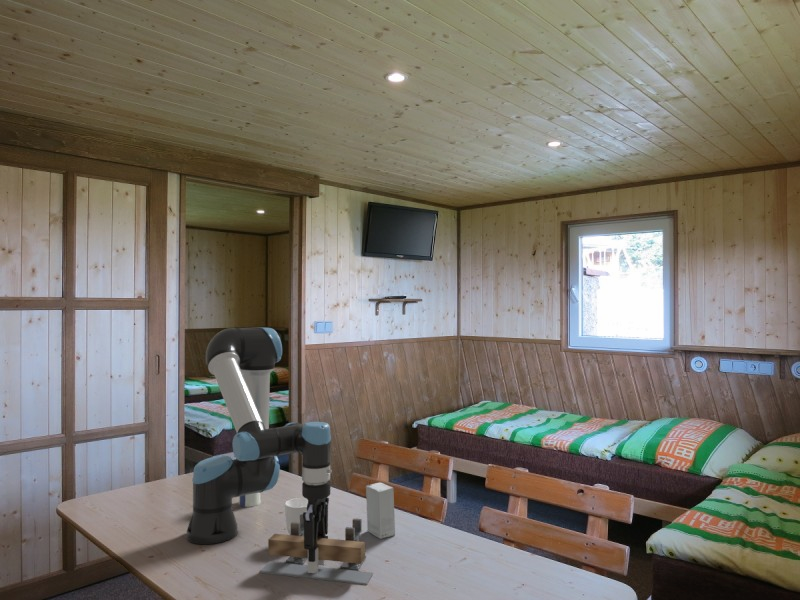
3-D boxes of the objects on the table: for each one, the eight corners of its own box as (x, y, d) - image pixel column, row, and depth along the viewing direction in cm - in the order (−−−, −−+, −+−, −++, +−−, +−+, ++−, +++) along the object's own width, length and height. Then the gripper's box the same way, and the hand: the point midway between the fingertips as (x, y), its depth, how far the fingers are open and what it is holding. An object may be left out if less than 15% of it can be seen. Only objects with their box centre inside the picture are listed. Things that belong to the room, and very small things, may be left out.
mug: (303, 549, 167) (302, 508, 168) (279, 544, 172) (279, 504, 172) (326, 535, 178) (325, 496, 178) (304, 530, 182) (303, 493, 182)
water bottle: (267, 501, 208) (267, 433, 209) (249, 508, 201) (249, 438, 201) (251, 497, 213) (251, 430, 213) (233, 504, 205) (233, 435, 206)
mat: (259, 572, 153) (259, 571, 153) (269, 562, 159) (269, 561, 159) (366, 584, 146) (366, 583, 146) (373, 574, 152) (373, 572, 152)
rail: (268, 554, 153) (268, 539, 154) (274, 548, 157) (274, 533, 157) (360, 563, 148) (360, 548, 148) (365, 557, 152) (365, 542, 152)
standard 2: (340, 568, 155) (340, 528, 155) (349, 556, 163) (349, 517, 163) (358, 570, 154) (358, 530, 154) (366, 557, 162) (366, 519, 162)
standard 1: (285, 562, 159) (286, 523, 159) (297, 550, 167) (297, 513, 167) (302, 564, 158) (302, 524, 158) (313, 552, 165) (313, 514, 166)
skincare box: (395, 535, 178) (395, 488, 178) (379, 540, 174) (379, 491, 175) (381, 526, 185) (381, 481, 185) (365, 530, 182) (365, 484, 182)
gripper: (318, 492, 144) (318, 585, 143) (339, 472, 160) (339, 556, 160) (290, 490, 145) (290, 582, 145) (314, 471, 162) (314, 553, 162)
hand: (316, 568), depth 153 cm, fingers closed on rail, 4 cm apart
